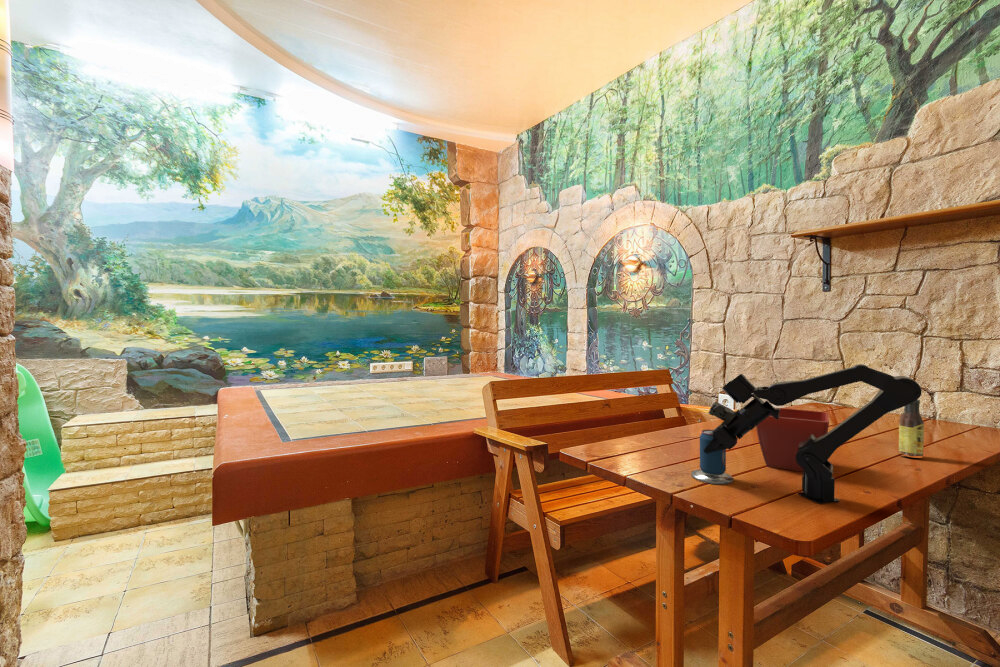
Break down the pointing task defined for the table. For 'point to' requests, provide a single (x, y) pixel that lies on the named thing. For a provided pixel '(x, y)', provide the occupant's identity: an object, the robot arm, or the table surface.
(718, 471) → the soda can
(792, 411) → the plant pot
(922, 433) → the sauce bottle
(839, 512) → the table surface
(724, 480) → the silver metal disc
